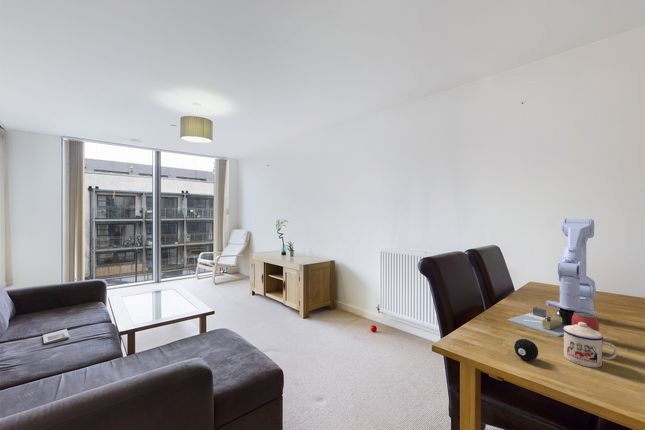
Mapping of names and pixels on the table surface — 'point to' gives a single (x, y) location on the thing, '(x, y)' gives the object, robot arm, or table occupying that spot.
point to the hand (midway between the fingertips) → (569, 329)
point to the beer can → (586, 320)
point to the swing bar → (552, 322)
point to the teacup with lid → (585, 345)
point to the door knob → (560, 316)
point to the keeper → (539, 312)
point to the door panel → (536, 324)
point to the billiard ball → (526, 349)
